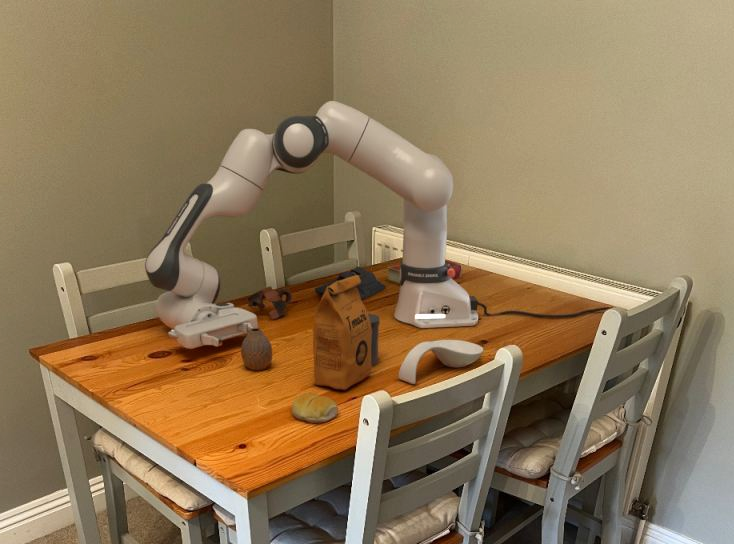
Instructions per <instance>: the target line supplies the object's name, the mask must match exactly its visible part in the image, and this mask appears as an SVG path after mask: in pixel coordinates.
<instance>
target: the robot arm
mask: <svg viewBox="0 0 734 544" xmlns="http://www.w3.org/2000/svg"><path fill="white" fill-rule="evenodd" d="M322 154H331V155H333V156H336V157H338V158H339V159H341V160H343V161H344V162H346V163H348V164H349V165H351V166H353V167H355V168H356V169H358V170H359V171H361V172H363V173H365V174H366V175H367V176H369V177H371V178H373V179H375V180H376V181H377V182H379V183H380V184H382V185H383V186H385V187H386V188H387V189H389V190H390V191H392V192H394V193H395V194H396V195H398V196H399V197H401V198H402V199H403V233H402V234H403V235H402V236H403V237H402V239H403V240H402V257H401V258H402V259H401V260H402V261H400V264H401V265H400V276H399V282H400V285H399V294H398V298H397V303H396V307H395V310H394V313H393V318H395V320H397V321H400V322H401V323H405V324H409V325H413V326H414V327H416V328H419V329H434V328H435V329H436V328H455V327H456V328H457V327H473V326H475V325H477V324H478V322H479V314H478V312H477V311H478V306H480V307H481V308H483V314H484V315H485V316H487V317H492V316H493V317H494V316H502V315H503V316H504V315H507V314H516V315H517V314H518V315H524V316H532V317H536V318H571V317H575V316H579V315H583V314H587V313H595V312H601V311H608V310H607V309H609V308H613V307H612V306H605V307H604V306H603V307H599V308H592V309H585V310H581V311H578V312H574V313H567V314H545V313H544V314H543V313H533V312H528V311H521V310H505V311H501V312H498V313H493V314H491V313H489V312H488V309H487V306H486V305H485V304H484V303H483V302H479V300H478V299H477V297H476V296H475V295H469V293H468V292H467V291H466V289H465V288H463V287H462V286H461V285H460V284H459V283H457V281H455V279H452V278H453V277H454V276H455V271H454V269H452V267H451V266H450V265H449V264H447V263H445V260H446V254H447V253H446V252H447V241H448V203H449V201H450V200H451V198H452V195H453V192H454V185H455V184H454V179H453V175H452V172H451V171H450V170H449V168H448V167H447V166H446V164H445V162H444V161H443V160H442V159H441V158H440V157H438V156H437V155H435V154H432V153H426V152H425V151H423V150H421V149H420V148H419V147H417V146H416V145H414V144H413V143H411V142H410V141H408V140H407V139H405V138H404V137H402V136H401V135H400V134H398V133H397V132H395V131H393V130H391V129H390V128H388V126H387V127H386V126H385V125H383V124H382V123H381V122H379V121H377V120H375V119H373V118H372V117H370V116H369V115H367V114H366V113H363V111H360V110H358V109H356V108H354V107H352V106H349V105H348V104H345V103H343V102H339V101H336V100H329V101H326V102H325V103H324V104H323V105H321V107H319V109H318V110H317V112H316V114H315V115H293V116H290V117H287V118H285V119H283V120H282V121H281V122H280V123H279V125H278V126H277V127H276V130H275V131H274V133H271V134H267V133H264V132H263V131H261V130H259V129H255V128H244V129H242V130H240V132H239V133H238V134H237V135H236V137H235V138H234V140H233V141H232V143H231V144H230V145H229V147H228V149H227V151H226V153H225V155H224V157H223V159H222V161H221V163H220V165H219V167H218V169H217V171H216V173H215V174H214V176H212V177H211V179H210V180H208V181H207V182H205V183H200V184H198V185H197V186H196V187H195V188H194V189H193V190H192V191H191V193H190V194H189V195H188V197H187V198H186V200H185V202H184V203H183V204H182V206H181V208H180V209H179V211H178V212H177V214H176V215H175V217H174V219H173V221H172V222H171V223H170V225H169V227H168V228H167V230H166V231H165V233H164V234H163V236H162V237H161V239H160V240H159V241H158V243H156V244H155V246H154V247H153V248H152V249H151V250H150V251H149V253H148V255H147V257H146V259H145V263H144V269H145V273H146V275H147V279H148V281H149V282H150V285H152V287H154V288H157V289H161V290H163V291H166V292H163V293H162V294H160V295H159V296H158V298H157V300H156V301H155V311H156V314H157V317H158V319H159V320H160V321H161V322H162V323H163V324H164V326H167V327H168V328H169V329H170V330H169V331H168V333H167V335H168V337H170V338H172V339H175V342H176V343H177V344H178V345H180V346H181V347H183V348H185V349H190V350H192V349H196V348H199V347H203V346H214V347H216V348H218V347H220V346H222V345H223V341H225V340H227V339H231V338H235V337H239V336H243V335H246V336H247V335H248V333H249V331H250V329H252V328H259V323H258V317H257V314H255V313H254V312H251V311H249V310H246V309H245V308H240V307H235V305H234V304H233V302H232V303H231V302H221V303H220V302H219V303H215V302H216V301H217V299H218V298H219V297H218V296H219V294H220V291H221V279H220V275H219V272H218V270H217V268H216V267H215V266H213V265H210V264H209V263H207V262H205V261H203V260H201V259H199V258H197V257H193V256H192V255H190V254H188V253H186V252H185V249H186V247H187V246H188V244H189V243H190V241H191V240H192V239H193V236H194V235H195V233H196V232H197V230H198V228H199V227H200V225H202V223H203V222H204V221H205V220H207V219H209V218H212V217H229V218H238V217H242V216H245V215H247V214H249V213H250V212H252V211H253V210H254V209H255V207H256V206H257V204H258V202H259V201H260V198H261V196H262V193H263V192H264V189H265V187H266V185H267V183H268V180H269V179H270V177H271V175H272V173H274V171H281V172H284V173H287V174H296V175H298V174H303V173H305V172H307V171H309V170H310V169H311V168H312V167H313V166H314V165H315V164H316V162H317V161H318V158H319V157H320V156H321V155H322Z"/></svg>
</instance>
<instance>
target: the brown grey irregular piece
mask: <svg viewBox="0 0 734 544" xmlns="http://www.w3.org/2000/svg"><path fill="white" fill-rule="evenodd" d="M284 295H285V300H283V296H284ZM292 298H293V294H292V292H291V291H290V290H289V289H288V288H282V289H279V290H274V289H273V287H272V285H271V286H266V287H265V288H263V289H261V290H258V291H256V292H255V293H253V294H250V295H249V296H248V297H247V301H248V308H250V309H252V308H253V307H257V308H258V309H259V310H260V311H262V310H263V309H265V307H266V303H264V301H263V300H264V299H265V300H266V301H267V302H268V303H271V304H272V306H273V309H272V310H271V311H269V312H268V314H269V316H270V318H271V320H272V321H273V320H276V319H278V318H279V317H284V316H286V308H287V307H288V306H289V305H290V304H291V302H292Z"/></svg>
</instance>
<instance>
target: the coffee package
mask: <svg viewBox="0 0 734 544" xmlns="http://www.w3.org/2000/svg"><path fill="white" fill-rule="evenodd" d="M360 283H361V280H360V278H359V276H358V275H355V276H352V277H349V278H346V279H343V280H340V281H336V282H335V283H333V284H332V285H330V286H328V287H327V288H326V291H325V293H324V295H321V296H322V297H321V298H320V301H319V302H318V304H317V307H316V309H315V312H314V318H313V330H312V331H313V333H312V334H313V337H312V350H313V367H314V368H313V370H314V372H313V373H314V374H313V375H314V377H313V378H314V385H317V386H323V387H329V388H332V389H335V390H343V391H345V390H347V389H349V388H350V387H352V386H353V385H355V384H357V383H360V382H361V381H363V380H365V379H366V378H368V377H369V376H370V375H371V372H372V370H373V369H372V366H371V342H372V328H371V322H370V319H369V316H368V310H367V308H366V305H364V302H363V301H362V299H361V298H360V294H359V291H358V289H357V288H356V286H357V285H359V284H360Z"/></svg>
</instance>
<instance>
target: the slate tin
mask: <svg viewBox="0 0 734 544" xmlns="http://www.w3.org/2000/svg"><path fill="white" fill-rule="evenodd" d="M367 313H368V312H367ZM368 316H369V319H370V322H371V328H372V342H371V367H374V366H376V365H377V364H378V362H379V337H380V336H379V335H380V334H379V332H380V324H381V317H380V316H379V315H377V314H373V313H368Z"/></svg>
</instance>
